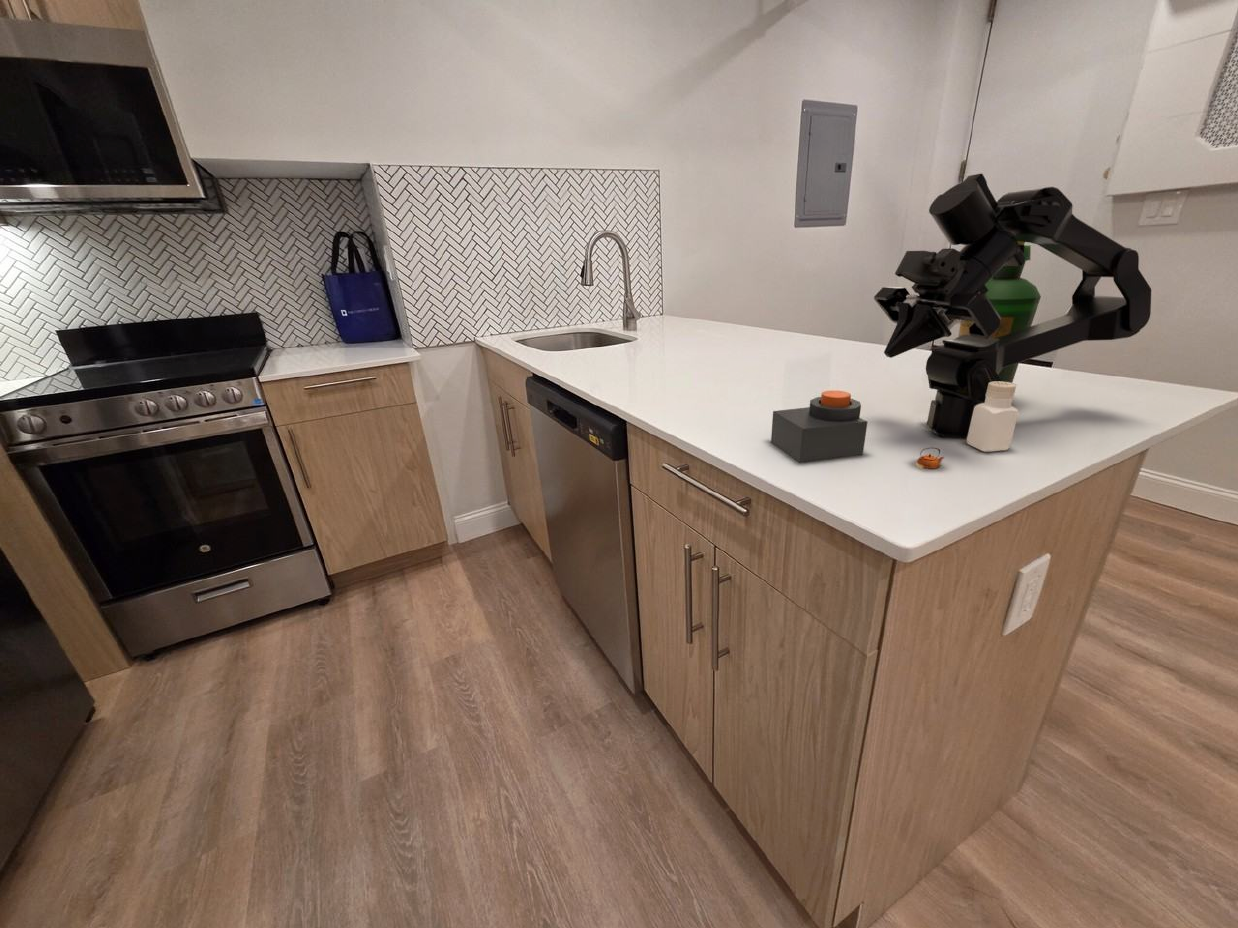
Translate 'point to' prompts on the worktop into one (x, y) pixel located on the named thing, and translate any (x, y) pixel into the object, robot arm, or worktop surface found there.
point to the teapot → (929, 461)
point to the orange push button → (835, 398)
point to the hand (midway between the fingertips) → (887, 355)
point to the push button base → (819, 431)
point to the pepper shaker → (994, 418)
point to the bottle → (1010, 305)
